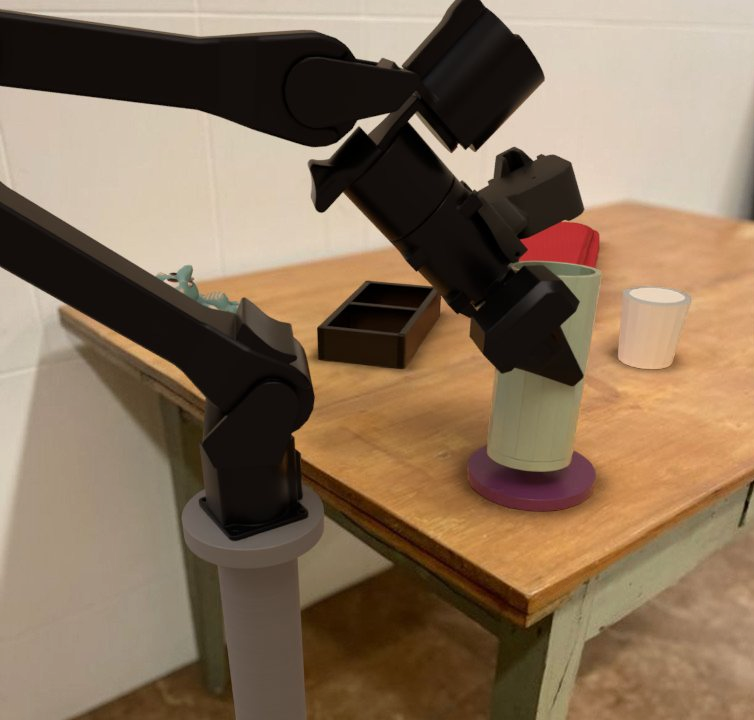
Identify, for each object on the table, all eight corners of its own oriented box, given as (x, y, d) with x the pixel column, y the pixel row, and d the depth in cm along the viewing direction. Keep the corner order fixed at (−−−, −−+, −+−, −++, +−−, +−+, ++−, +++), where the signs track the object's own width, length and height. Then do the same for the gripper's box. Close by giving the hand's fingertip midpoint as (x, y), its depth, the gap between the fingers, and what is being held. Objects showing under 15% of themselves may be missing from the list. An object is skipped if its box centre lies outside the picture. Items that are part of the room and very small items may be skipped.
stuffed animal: (249, 289, 89) (136, 270, 87) (242, 351, 92) (133, 334, 90) (253, 263, 98) (151, 245, 96) (246, 320, 101) (147, 304, 99)
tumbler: (496, 471, 59) (519, 275, 53) (479, 440, 65) (498, 259, 59) (582, 472, 60) (615, 278, 54) (558, 441, 66) (585, 262, 60)
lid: (524, 525, 59) (526, 513, 58) (441, 469, 66) (442, 458, 65) (621, 488, 63) (623, 477, 63) (534, 439, 71) (535, 429, 70)
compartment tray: (403, 369, 84) (404, 336, 82) (317, 359, 86) (316, 327, 84) (440, 315, 99) (441, 286, 97) (365, 308, 101) (365, 280, 99)
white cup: (633, 343, 91) (644, 280, 87) (690, 359, 87) (704, 294, 83) (599, 359, 87) (609, 294, 83) (657, 376, 83) (671, 309, 79)
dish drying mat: (600, 243, 130) (604, 218, 128) (586, 324, 96) (590, 292, 94) (502, 236, 133) (504, 212, 131) (455, 312, 100) (457, 281, 98)
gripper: (568, 128, 42) (715, 326, 50) (476, 95, 58) (598, 250, 65) (413, 284, 45) (573, 449, 53) (366, 212, 61) (494, 348, 68)
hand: (561, 363), depth 60 cm, fingers closed on tumbler, 7 cm apart
